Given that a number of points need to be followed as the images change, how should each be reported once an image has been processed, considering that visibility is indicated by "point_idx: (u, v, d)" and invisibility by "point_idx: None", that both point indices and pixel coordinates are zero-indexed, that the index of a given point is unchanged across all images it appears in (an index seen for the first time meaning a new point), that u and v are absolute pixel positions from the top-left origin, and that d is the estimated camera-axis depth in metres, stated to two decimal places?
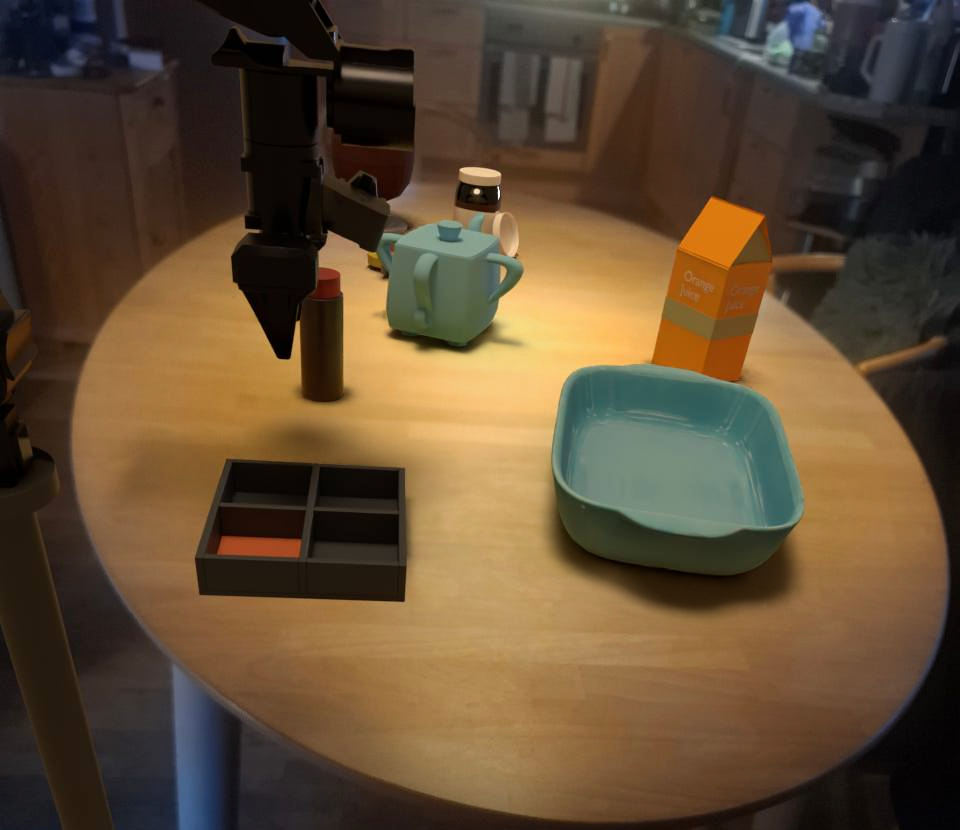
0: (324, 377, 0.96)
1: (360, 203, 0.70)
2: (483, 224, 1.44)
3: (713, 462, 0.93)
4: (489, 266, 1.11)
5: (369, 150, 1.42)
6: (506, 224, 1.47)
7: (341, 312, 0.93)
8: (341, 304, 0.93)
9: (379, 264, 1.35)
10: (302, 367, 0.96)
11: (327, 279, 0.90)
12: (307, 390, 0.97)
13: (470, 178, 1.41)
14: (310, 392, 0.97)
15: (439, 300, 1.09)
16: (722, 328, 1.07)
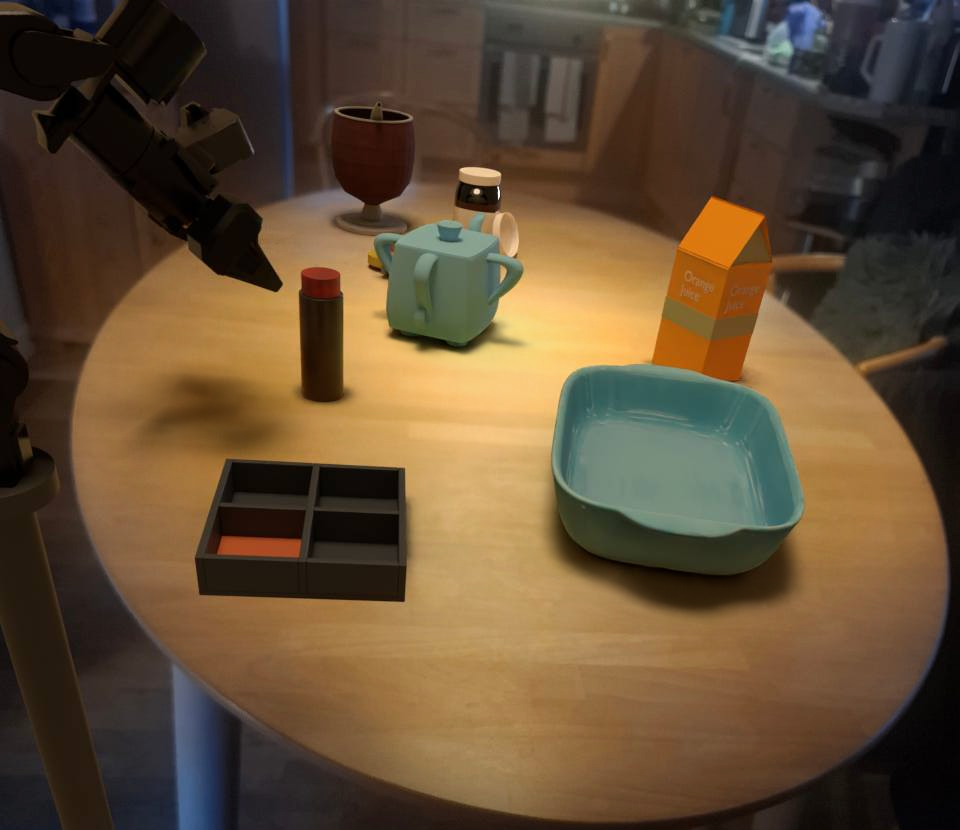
0: (324, 377, 0.96)
1: (216, 130, 0.76)
2: (483, 224, 1.44)
3: (713, 462, 0.93)
4: (489, 266, 1.11)
5: (369, 150, 1.42)
6: (506, 224, 1.47)
7: (341, 312, 0.93)
8: (341, 304, 0.93)
9: (379, 264, 1.35)
10: (302, 367, 0.96)
11: (327, 279, 0.90)
12: (307, 390, 0.97)
13: (470, 178, 1.41)
14: (310, 392, 0.97)
15: (439, 300, 1.09)
16: (722, 328, 1.07)
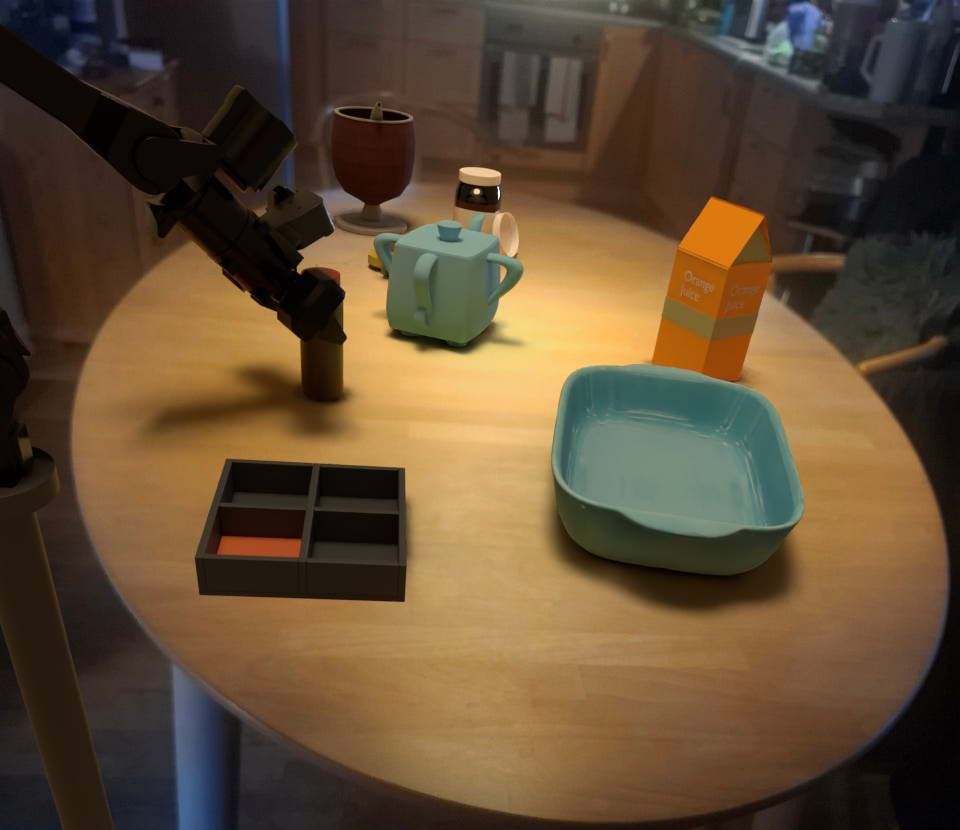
0: (324, 377, 0.96)
1: (303, 212, 0.85)
2: (483, 224, 1.44)
3: (713, 462, 0.93)
4: (489, 266, 1.11)
5: (369, 150, 1.42)
6: (506, 224, 1.47)
7: (341, 312, 0.93)
8: (341, 304, 0.93)
9: (379, 264, 1.35)
10: (302, 367, 0.96)
11: None
12: (307, 390, 0.97)
13: (470, 178, 1.41)
14: (310, 392, 0.97)
15: (439, 300, 1.09)
16: (722, 328, 1.07)
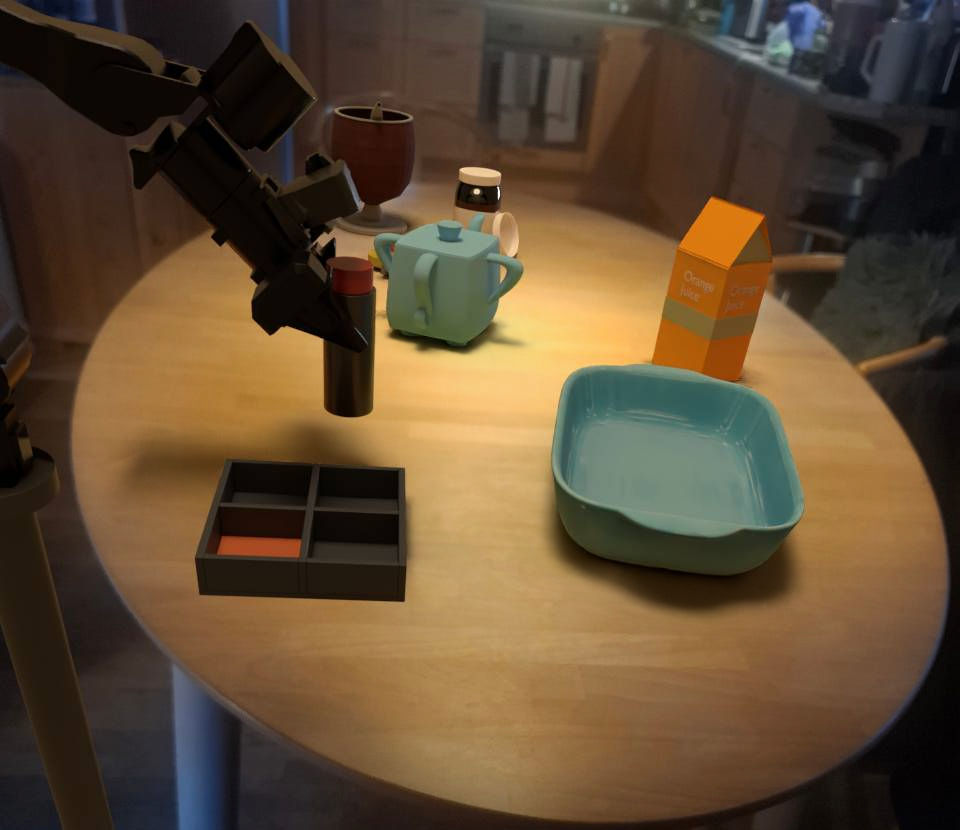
0: (339, 388, 0.80)
1: (314, 183, 0.69)
2: (483, 224, 1.44)
3: (713, 462, 0.93)
4: (489, 266, 1.11)
5: (369, 150, 1.42)
6: (506, 224, 1.47)
7: (366, 314, 0.76)
8: (366, 304, 0.76)
9: (379, 264, 1.35)
10: (323, 372, 0.81)
11: (346, 270, 0.74)
12: (324, 399, 0.82)
13: (470, 178, 1.41)
14: (326, 402, 0.82)
15: (439, 300, 1.09)
16: (722, 328, 1.07)
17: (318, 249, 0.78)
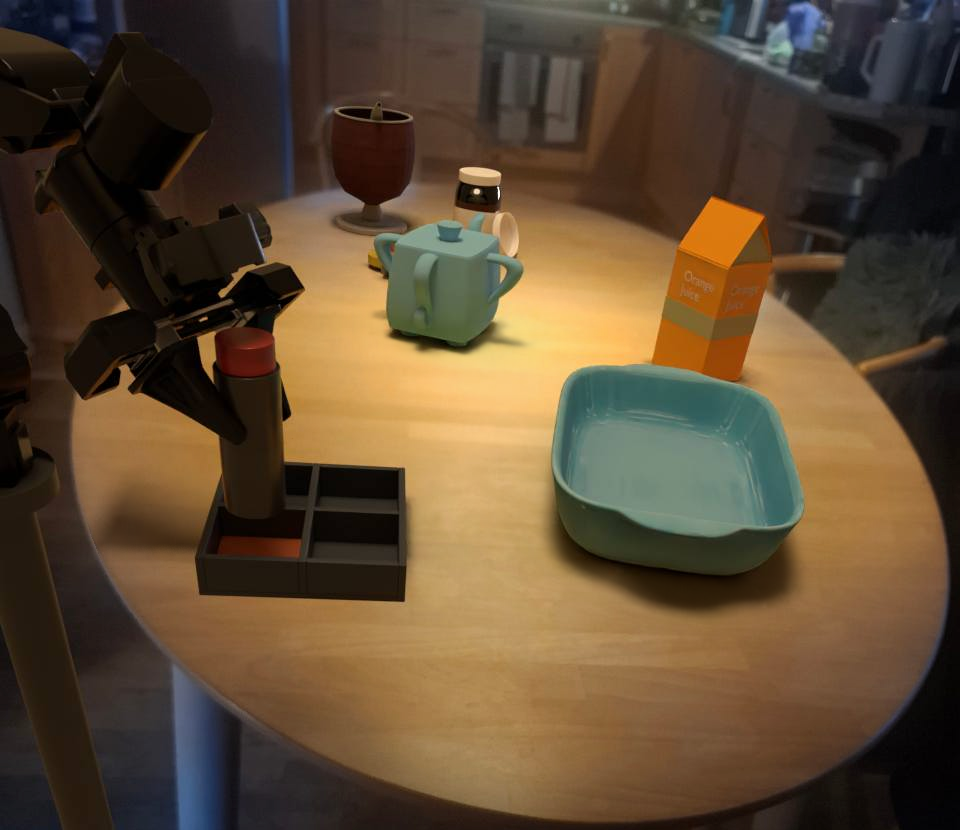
0: (225, 479, 0.65)
1: None
2: (483, 224, 1.44)
3: (713, 462, 0.93)
4: (489, 266, 1.11)
5: (369, 150, 1.42)
6: (506, 224, 1.47)
7: (247, 401, 0.61)
8: (247, 390, 0.60)
9: (379, 264, 1.35)
10: None
11: (222, 344, 0.59)
12: None
13: (470, 178, 1.41)
14: None
15: (439, 300, 1.09)
16: (722, 328, 1.07)
17: (249, 314, 0.64)
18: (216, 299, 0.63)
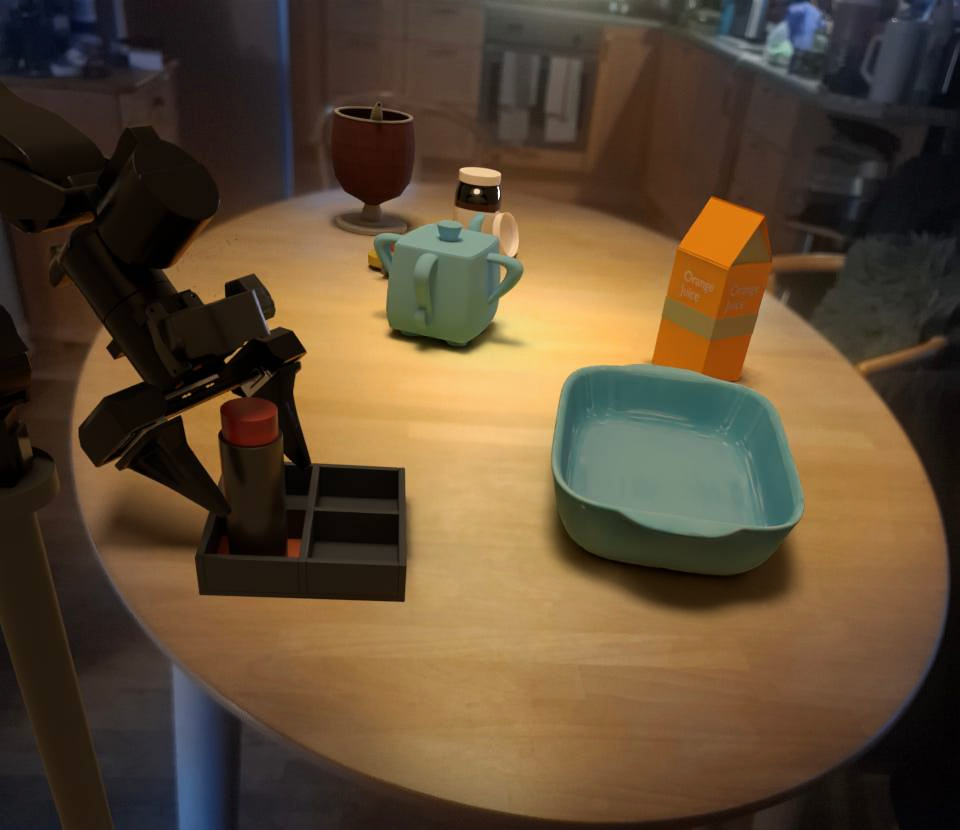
0: (231, 539, 0.69)
1: (187, 311, 0.59)
2: (483, 224, 1.44)
3: (713, 462, 0.93)
4: (489, 266, 1.11)
5: (369, 150, 1.42)
6: (506, 224, 1.47)
7: (251, 469, 0.64)
8: (251, 458, 0.64)
9: (379, 264, 1.35)
10: None
11: (227, 417, 0.62)
12: None
13: (470, 178, 1.41)
14: None
15: (439, 300, 1.09)
16: (722, 328, 1.07)
17: (272, 371, 0.69)
18: (222, 366, 0.66)
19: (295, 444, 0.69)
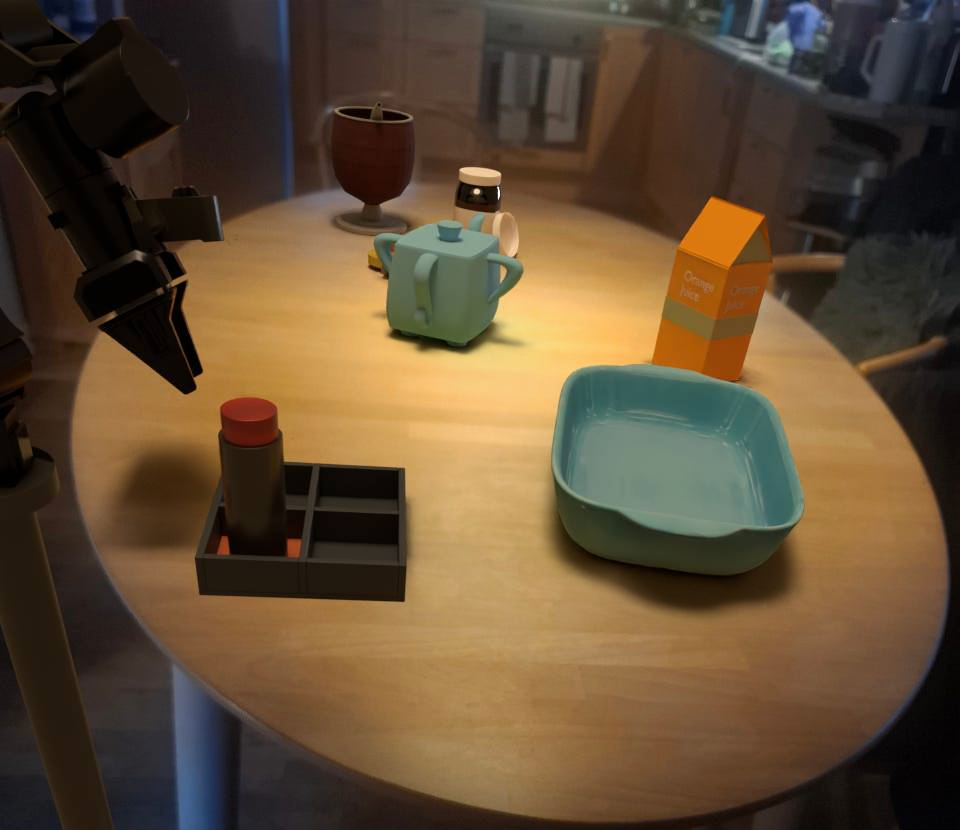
0: (231, 539, 0.69)
1: (180, 197, 0.65)
2: (483, 224, 1.44)
3: (713, 462, 0.93)
4: (489, 266, 1.11)
5: (369, 150, 1.42)
6: (506, 224, 1.47)
7: (251, 469, 0.64)
8: (251, 458, 0.64)
9: (379, 264, 1.35)
10: None
11: (227, 417, 0.62)
12: None
13: (470, 178, 1.41)
14: None
15: (439, 300, 1.09)
16: (722, 328, 1.07)
17: None
18: None
19: (191, 351, 0.75)
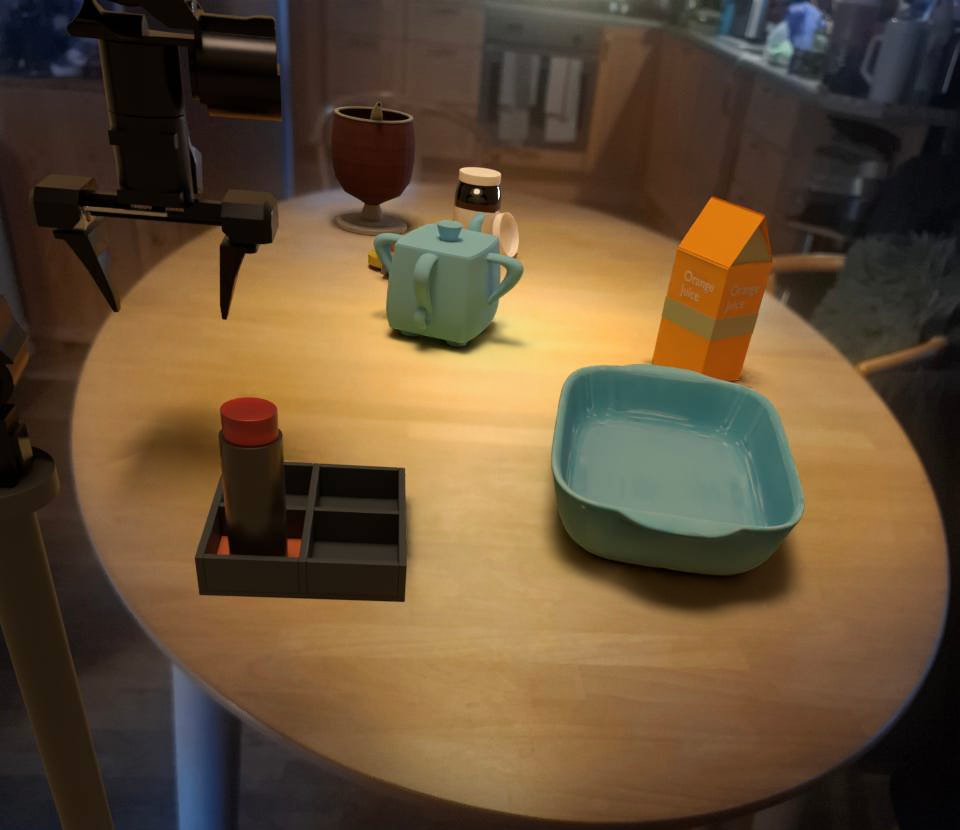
0: (231, 539, 0.69)
1: None
2: (483, 224, 1.44)
3: (713, 462, 0.93)
4: (489, 266, 1.11)
5: (369, 150, 1.42)
6: (506, 224, 1.47)
7: (251, 469, 0.64)
8: (251, 458, 0.64)
9: (379, 264, 1.35)
10: None
11: (227, 417, 0.62)
12: None
13: (470, 178, 1.41)
14: None
15: (439, 300, 1.09)
16: (722, 328, 1.07)
17: None
18: None
19: (117, 286, 0.77)
